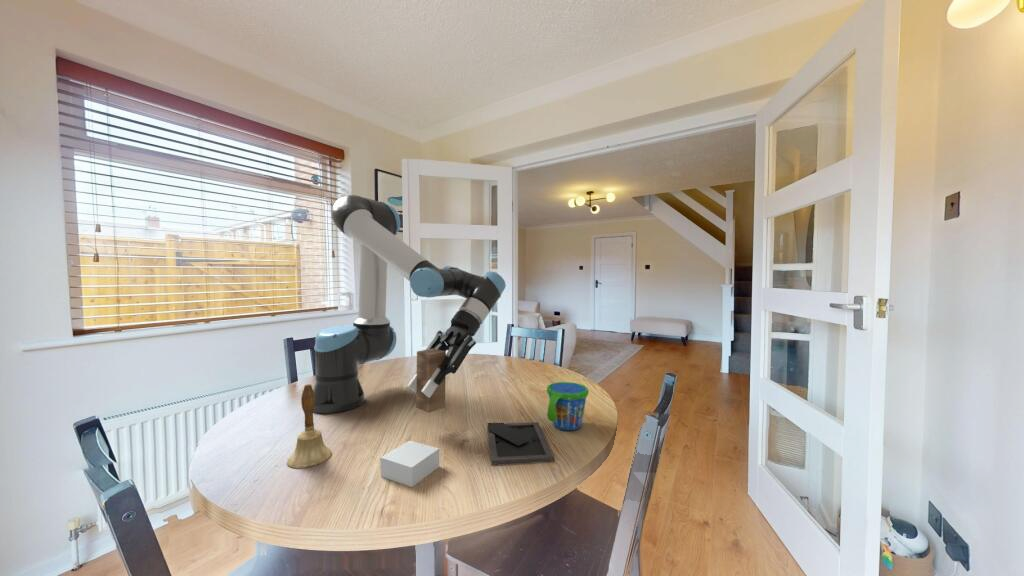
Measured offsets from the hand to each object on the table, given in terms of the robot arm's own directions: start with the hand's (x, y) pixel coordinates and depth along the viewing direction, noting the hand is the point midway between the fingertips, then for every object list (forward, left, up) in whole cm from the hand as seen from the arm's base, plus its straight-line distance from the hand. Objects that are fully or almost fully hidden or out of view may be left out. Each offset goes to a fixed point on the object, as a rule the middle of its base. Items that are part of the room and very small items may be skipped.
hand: (418, 391), depth 83 cm
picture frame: (+20, +14, -12) cm, 27 cm away
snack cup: (+24, +30, -12) cm, 40 cm away
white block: (+11, -9, -12) cm, 18 cm away
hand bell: (-10, -20, -12) cm, 26 cm away
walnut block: (0, +4, -5) cm, 6 cm away
